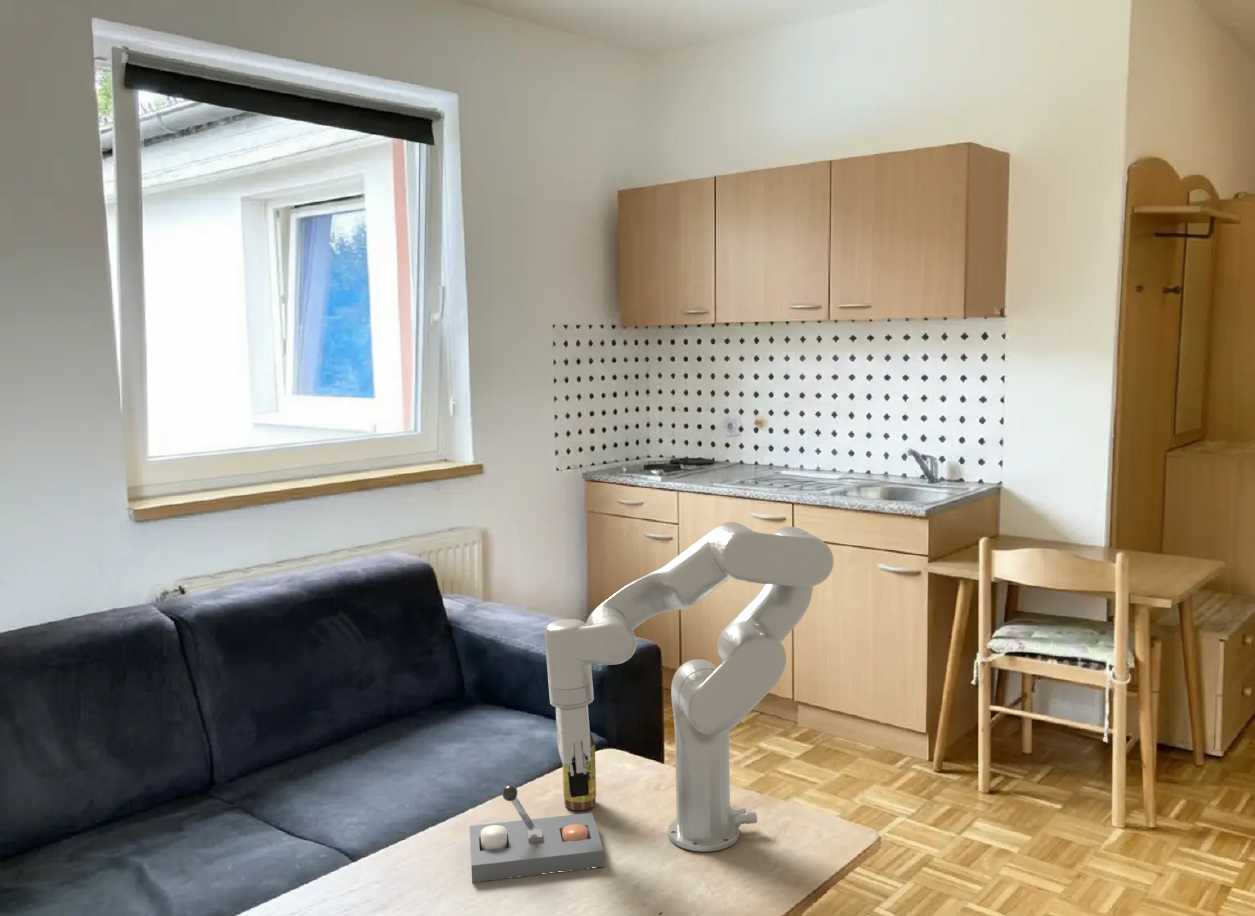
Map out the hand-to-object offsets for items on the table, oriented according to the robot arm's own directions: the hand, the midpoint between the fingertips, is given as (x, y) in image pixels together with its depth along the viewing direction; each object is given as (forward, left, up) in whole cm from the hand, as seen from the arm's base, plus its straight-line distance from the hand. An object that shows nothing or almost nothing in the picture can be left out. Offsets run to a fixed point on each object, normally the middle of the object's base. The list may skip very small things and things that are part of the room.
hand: (579, 794), depth 174 cm
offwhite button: (+15, 0, -9) cm, 17 cm away
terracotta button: (+1, 0, -10) cm, 10 cm away
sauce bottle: (-2, -17, -10) cm, 20 cm away
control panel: (+8, 0, -10) cm, 13 cm away
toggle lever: (+8, 0, -6) cm, 10 cm away
